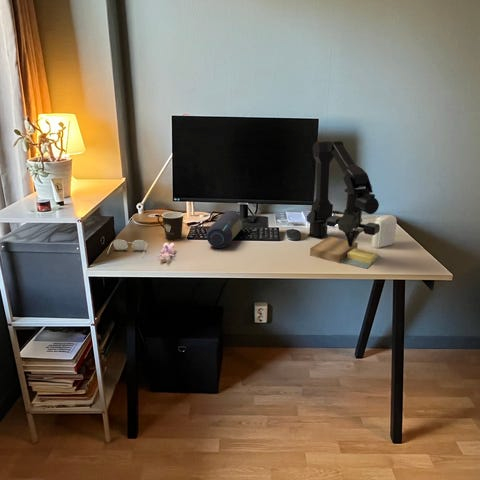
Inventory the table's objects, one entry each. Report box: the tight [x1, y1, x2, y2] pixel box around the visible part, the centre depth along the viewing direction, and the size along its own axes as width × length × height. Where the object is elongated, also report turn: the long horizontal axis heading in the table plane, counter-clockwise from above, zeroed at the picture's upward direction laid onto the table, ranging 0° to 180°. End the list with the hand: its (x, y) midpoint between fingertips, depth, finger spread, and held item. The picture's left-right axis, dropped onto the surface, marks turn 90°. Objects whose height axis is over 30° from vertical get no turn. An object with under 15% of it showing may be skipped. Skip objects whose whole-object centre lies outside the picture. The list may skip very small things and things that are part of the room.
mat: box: [340, 254, 382, 270], centre depth 172 cm, size 10×14×1 cm
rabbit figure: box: [157, 242, 175, 265], centre depth 172 cm, size 6×6×15 cm
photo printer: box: [371, 214, 398, 249], centre depth 184 cm, size 10×4×12 cm, turn 123°
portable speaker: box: [206, 210, 244, 249], centre depth 189 cm, size 25×10×10 cm, turn 165°
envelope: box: [334, 213, 379, 225], centre depth 213 cm, size 24×2×14 cm
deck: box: [309, 236, 359, 264], centre depth 178 cm, size 12×16×3 cm
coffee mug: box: [157, 211, 184, 242], centre depth 192 cm, size 12×9×10 cm
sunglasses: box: [107, 239, 148, 257], centre depth 175 cm, size 14×8×5 cm, turn 87°
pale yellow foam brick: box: [347, 248, 378, 264], centre depth 172 cm, size 9×6×2 cm, turn 54°
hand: (350, 246), depth 173 cm, fingers closed
